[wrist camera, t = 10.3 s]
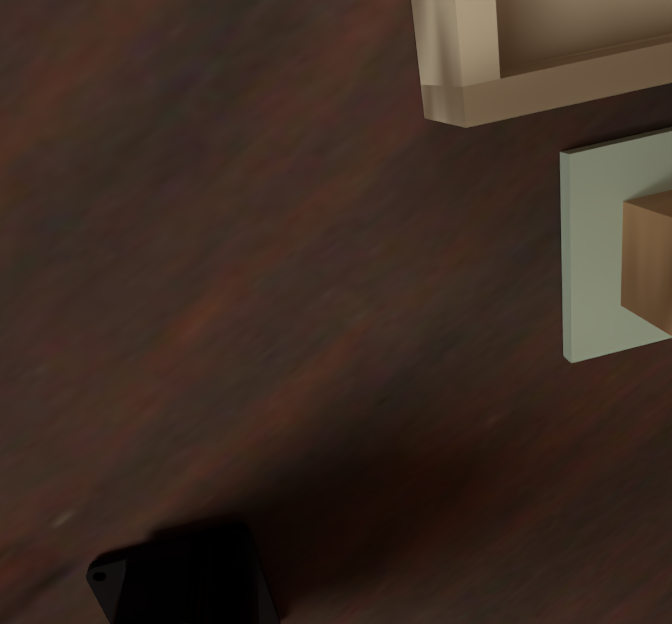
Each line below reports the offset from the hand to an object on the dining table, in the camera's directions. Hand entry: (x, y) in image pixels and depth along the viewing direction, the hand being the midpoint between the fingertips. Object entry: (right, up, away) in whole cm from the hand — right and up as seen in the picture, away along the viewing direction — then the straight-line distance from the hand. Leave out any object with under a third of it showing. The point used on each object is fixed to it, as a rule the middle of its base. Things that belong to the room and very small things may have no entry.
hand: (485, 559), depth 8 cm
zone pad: (+10, +7, +12) cm, 17 cm away
